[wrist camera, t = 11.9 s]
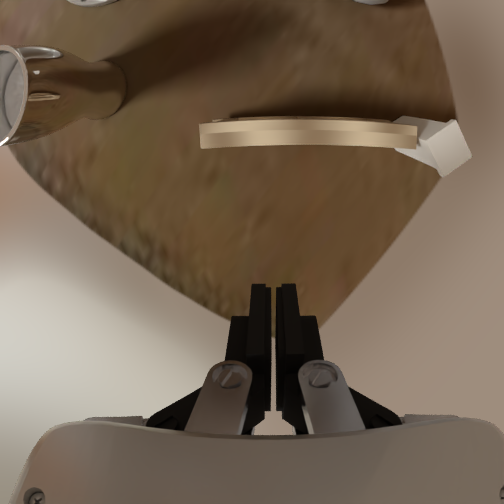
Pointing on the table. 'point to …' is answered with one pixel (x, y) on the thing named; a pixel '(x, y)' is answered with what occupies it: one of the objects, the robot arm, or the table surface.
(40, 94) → the beer glass
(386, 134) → the gate
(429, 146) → the gate posts
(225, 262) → the table surface
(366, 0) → the salt shaker
